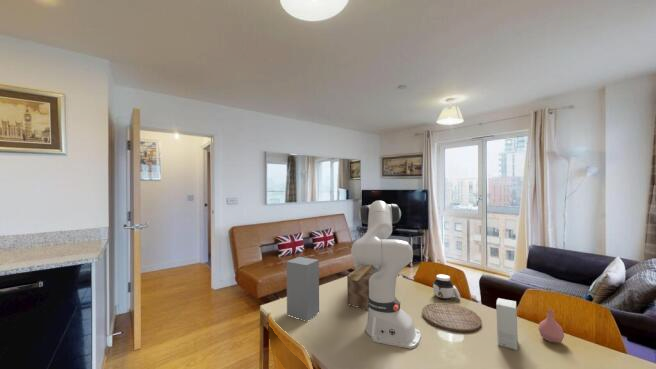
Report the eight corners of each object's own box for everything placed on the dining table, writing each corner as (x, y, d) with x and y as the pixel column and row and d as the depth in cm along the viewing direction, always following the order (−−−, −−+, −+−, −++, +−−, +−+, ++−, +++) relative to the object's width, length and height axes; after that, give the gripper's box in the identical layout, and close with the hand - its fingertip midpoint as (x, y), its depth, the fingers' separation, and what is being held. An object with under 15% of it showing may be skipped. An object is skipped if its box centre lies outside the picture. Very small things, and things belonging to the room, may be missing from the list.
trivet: (491, 336, 106) (491, 332, 106) (426, 330, 111) (426, 326, 111) (470, 308, 131) (470, 304, 131) (418, 304, 136) (418, 301, 136)
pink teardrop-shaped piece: (555, 348, 98) (554, 316, 98) (533, 337, 105) (533, 307, 105) (569, 344, 100) (568, 313, 100) (547, 333, 107) (547, 304, 107)
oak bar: (373, 269, 146) (373, 264, 146) (356, 281, 127) (356, 274, 127) (366, 268, 148) (366, 263, 148) (349, 279, 129) (349, 273, 129)
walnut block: (376, 302, 138) (375, 274, 138) (369, 309, 130) (368, 279, 130) (355, 297, 144) (355, 270, 145) (347, 304, 136) (347, 275, 136)
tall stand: (319, 313, 127) (318, 259, 127) (307, 322, 118) (306, 265, 119) (299, 307, 133) (299, 256, 133) (287, 315, 125) (286, 261, 125)
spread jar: (431, 295, 146) (430, 274, 147) (445, 291, 151) (445, 271, 151) (449, 303, 136) (448, 281, 136) (464, 299, 140) (463, 278, 141)
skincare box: (517, 351, 96) (516, 308, 96) (496, 344, 100) (495, 304, 100) (517, 340, 103) (517, 301, 103) (498, 334, 107) (497, 296, 107)
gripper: (359, 262, 161) (351, 255, 151) (392, 267, 150) (385, 260, 140) (357, 272, 158) (349, 266, 148) (390, 278, 148) (383, 272, 137)
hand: (367, 263), depth 144 cm, fingers open, 5 cm apart
